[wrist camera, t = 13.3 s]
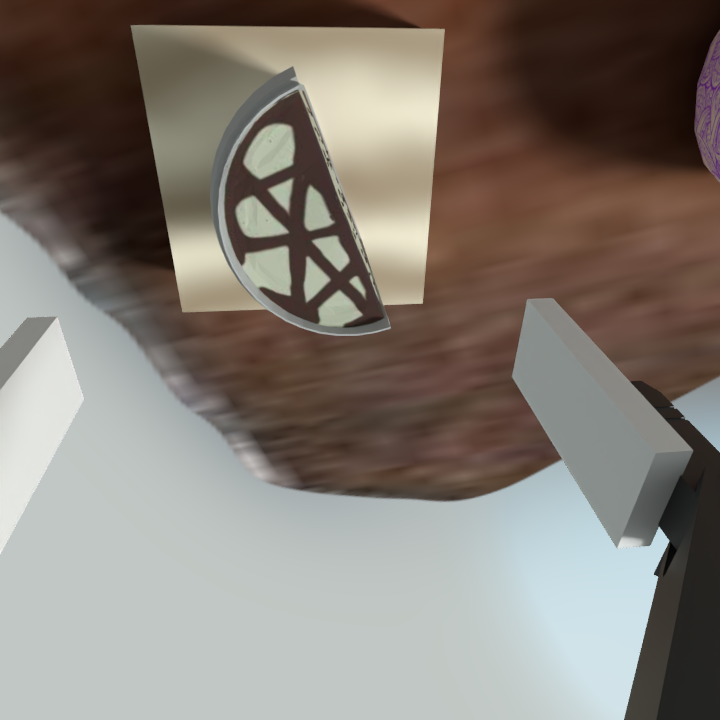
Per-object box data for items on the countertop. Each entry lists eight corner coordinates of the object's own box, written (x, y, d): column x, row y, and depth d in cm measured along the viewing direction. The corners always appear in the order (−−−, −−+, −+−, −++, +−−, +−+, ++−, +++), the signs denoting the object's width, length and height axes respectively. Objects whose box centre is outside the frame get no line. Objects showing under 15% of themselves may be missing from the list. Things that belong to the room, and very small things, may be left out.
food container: (187, 100, 29) (143, 132, 21) (293, 55, 28) (293, 69, 20) (281, 294, 36) (278, 379, 27) (369, 261, 35) (394, 337, 26)
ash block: (156, 24, 32) (130, 25, 27) (421, 28, 34) (444, 29, 28) (196, 276, 40) (182, 312, 35) (406, 269, 42) (422, 303, 37)
